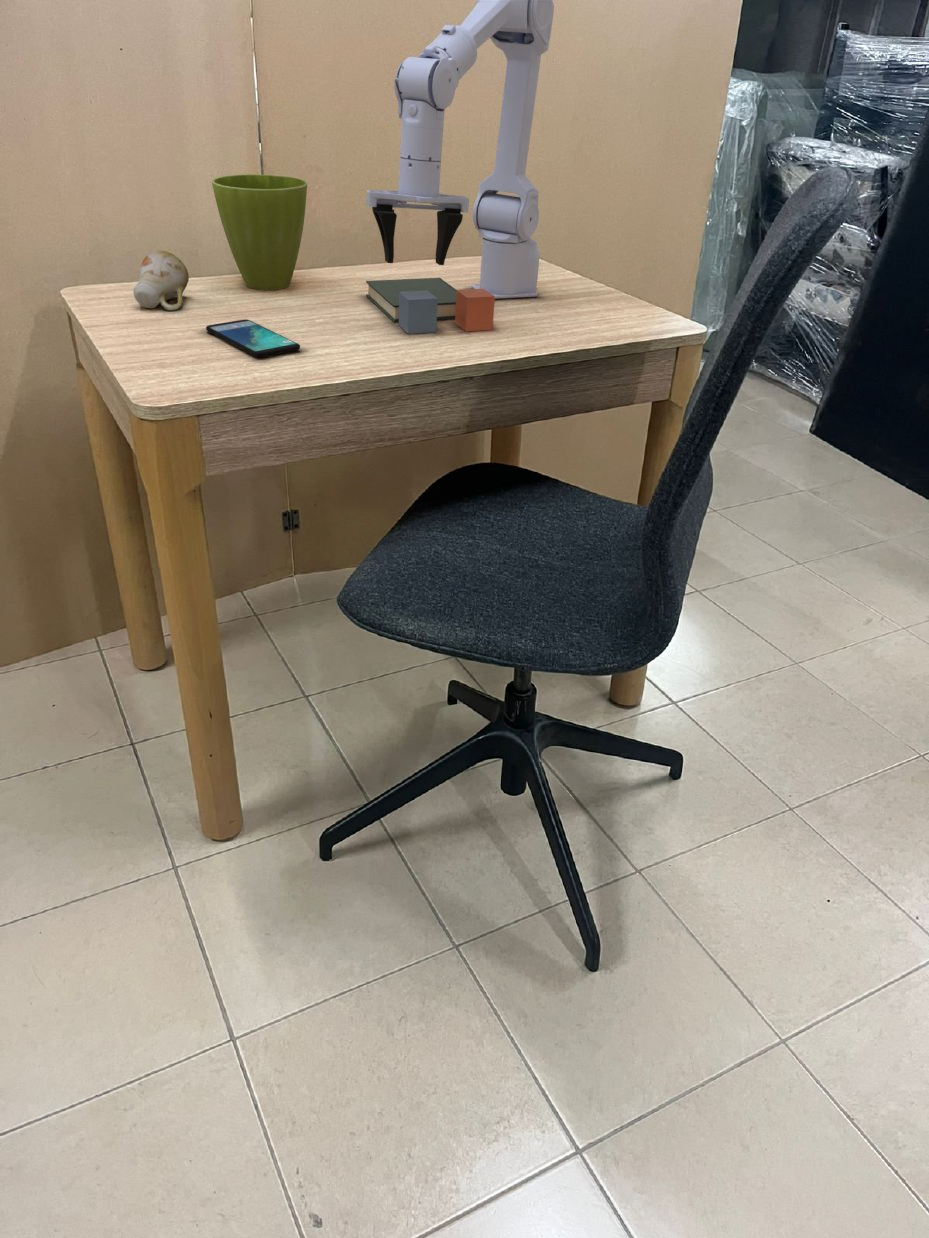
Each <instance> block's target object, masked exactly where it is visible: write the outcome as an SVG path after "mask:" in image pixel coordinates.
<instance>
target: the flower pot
mask: <svg viewBox="0 0 929 1238" xmlns="http://www.w3.org/2000/svg"><path fill="white" fill-rule="evenodd" d="M211 186H212V190H213V194H214V199H215V202H216V207H217V210H218V215H219V217H220V222H221V225H222V227H223V231H224V234H225V237H226V241H227V243H228V246H229V248H230V251H231V255H232V257H233V259H234V262H235V264H236V266H237V268H238V272H239V273H240V275H241V278H242V281H243V282H244V285H245V286H246V287H248V288H250V289H253V290H258V291H259V290H260V291H276V290H280V289H285V288H288V287H289V286H290V285H291V282H292V278H293V276H294V271H295V269H296V266H297V261H298V256H299V252H300V248H301V242H302V237H303V231H304V224H305V215H306V205H307V191H308V182H307V181H306V180H305V179H301V178H298V177H293V176H286V175H285V176H284V175H274V174H257V173H256V174H252V173H251V174H250V173H249V174H230V175H223V176H222V175H221V176H218V177H215V178H213V179H212V180H211Z"/></svg>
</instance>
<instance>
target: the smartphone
mask: <svg viewBox="0 0 929 1238" xmlns="http://www.w3.org/2000/svg"><path fill="white" fill-rule="evenodd" d="M205 330H206V331H207V332H209V333H210V334H213V335H214V336H216V337H218V338H220V339H221V340H224V341H225V342H227V343H229V344H231V345H233V346H234V347H237V348H238V349H241V350H242V351H245V352H246V353H249V354H250V355H251V356H254V357H255V358H264V357H270V356H275V355H279V354H285V353H292V352H296V351H299V350H300V349H301V345H300V344H299V343H297V342H296V341H293V340H291V339H289V338H288V337H285V336H284V335H281V334H279V333H277V332H275V331H273V330H271V329H269V328H267V327H265V326H263V325H261V324H258V323H256V322H254V321H252V320H250V319H245V318H244V319H238V320H233V321H226V322H220V323H214V324H209V325H206V326H205Z"/></svg>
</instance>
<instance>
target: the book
mask: <svg viewBox="0 0 929 1238" xmlns="http://www.w3.org/2000/svg"><path fill="white" fill-rule="evenodd" d="M365 283H366V284H367V285H368V286H367V288H368V294H366V295H365V297H366V298H367V299H368V300H370V301H371V302H372V303H373V305H375V306H376V307H377V308H378V309H379V310H380V311H381V312H382V313H383V314H384V315H385V316H387V318H389V319H390V320H391V321H392V322H393V323H399V292H407V291H429V292H430V293H431V294H432V295H434V296H435V297H436V298H437V320H452V319H454V320H455V313H456V290H457V289H456V288H455V287H454V286H452V285H451V284H449V283H448V282H446V280H444V279H443V278H441V277H424V278H422V277H421V278H402V279H401V278H400V279H399V278H398V279H378V280H377V279H376V280H366V281H365Z"/></svg>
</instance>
